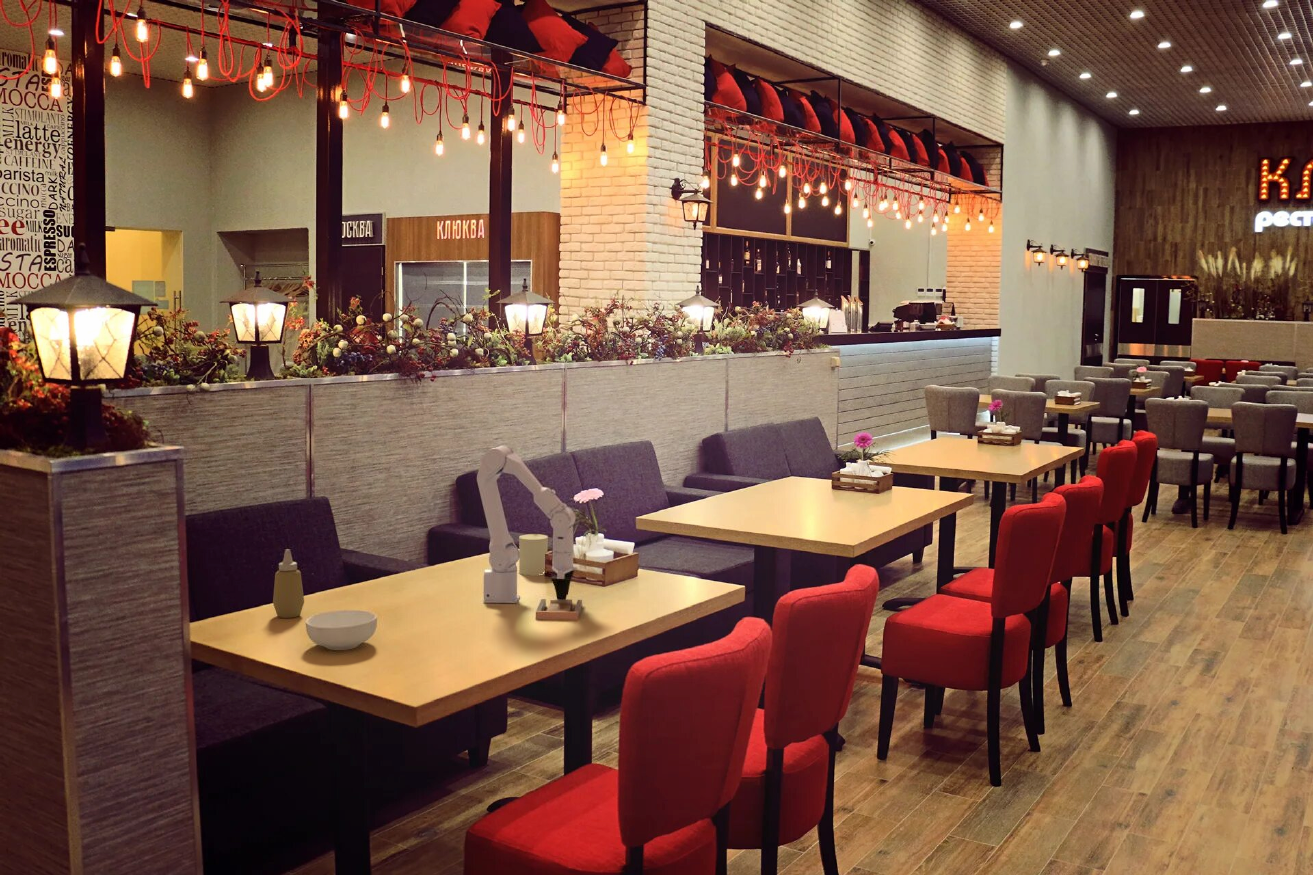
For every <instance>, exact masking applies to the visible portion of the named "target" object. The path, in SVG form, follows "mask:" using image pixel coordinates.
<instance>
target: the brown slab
mask: <svg viewBox="0 0 1313 875" xmlns="http://www.w3.org/2000/svg"><path fill="white" fill-rule="evenodd" d="M572 607H573V599H572V598H571V599H567V598H566V599H557V598H556V599H555V598H554V599H553V598H550V601H549V605H548V608H547V610H546V611H571V610H572Z"/></svg>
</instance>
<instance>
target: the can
mask: <svg viewBox="0 0 1313 875" xmlns="http://www.w3.org/2000/svg"><path fill="white" fill-rule="evenodd" d="M518 542H519V545H518V546H519V547H518V549H519V552H520V557H519V560H518V566H519V567H518V568H519V569H518V573H520V574H519V575H522V574H524V575H523V576H527V575H539V574H543V572H544V569H545V554H546V552H548V548H549V546H548V545H549V544H548V543H549V536H548V535H546V534H542V533H541V534H539V533H529V534H521V535H519V537H518ZM539 576H540V575H539Z"/></svg>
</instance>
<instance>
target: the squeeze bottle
mask: <svg viewBox="0 0 1313 875" xmlns="http://www.w3.org/2000/svg"><path fill="white" fill-rule="evenodd" d="M301 573H302V572H301V571H300V570H299V569H298V563H297V562H296V561H293V557H292V552H291V549H288V548H287V549H285V550H284V555H283V560H282V562H279V563H278V570H277V571H276V572H275V573H274V587H273V598H272V604H273V607H274V610H275V612H276V615H277V617H279V618H283V619H286V618H287V619H289V618H291V619H292V618H297V617H299V616H300V615H301V614H302V610H303V607H304V604H305V597H304V590H303V589H304V588H303V581H302V574H301Z"/></svg>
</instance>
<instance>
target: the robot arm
mask: <svg viewBox="0 0 1313 875" xmlns="http://www.w3.org/2000/svg"><path fill="white" fill-rule="evenodd" d="M503 473H504V474H509V475H513V476H515V477H516V479H518V480H519V481H520V482H521V483H522V484H523V486H525V488H527V489H528V491H530V492H531V494H532V495H533V502H534V503H535V504H536V506H537V507H538V508H539V509H540V510H541V511H542V513H544V514H545V515H546V517H547V518H548V519H550V520H549V522H550V525H551V526H550V527H551V528H552V529H553V533H552V534H553V535H552V566H551V569H552V571H554V574H555V575H554V576H551V578H550V580H551V583H552V584H553V587H554V590H555V594H556V595H555V596H556V599H567V596H568V595H569V593H570V592H569V591H570V586H571V585H570V584H571V581H572V577H573V575H574V573H575V570H576V571H577V570H578V566H577V565H574V526H573V525H574V524H575V523H576V519H577V518H576V517H577V516H576V513H575V512H574V509H573V508H572V507H569V506H568V505H567V504H566V503H564V502H562V500H560V499H559V497H558V496H557V495H556V491H555V489H551V488H550V487H544V486H543V485H542V484H541V483H540V481H539V480H538V479H537V478H536V476H535V475H534V474H533V473H532V471H531V470H530V469H529V468H528V467H527V465H526V464H525V462H523V460H522V459H521V457H520V455H518V453H516V452H514V450H513V448H512V447H511V446H509V445H506V444H503V445H502V444H501V445H499V446H497V447H493V448H490V449H487V451H486V452H485V453H484V454H483V455H482V456H481V458H480V465H479V469H478V472H477V475H476V482H477V486H478V490H479V494H480V499H481V504H482V507H483V512H484V516H485V520H486V523H487V528H488V532H489V536H490V541H489V546H488V549H489V556H488V562H489V565H490V567H491V568H488V569H487V568H486V569H484V571H483V572H484V573H483V601H482V602H483V603H485V604H487V603H492V604H495V603H496V604H499V603H500V604H502V603H503V604H508V603H509V604H517V603H518V601H519V599H520V597H521V595H520V594H518V566H517V562H519V557H520V552H519V547H518V546H517V545H516V544H515V541H514V538H513V537H512V536H511V535H510V532H509V529H508V524H507V521H506V516H505V512H504V507H503V503H502V500H501V494H500V491H499V486H498V482H497V480H498V479H499V478H500V477H501V475H502V474H503Z"/></svg>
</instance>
